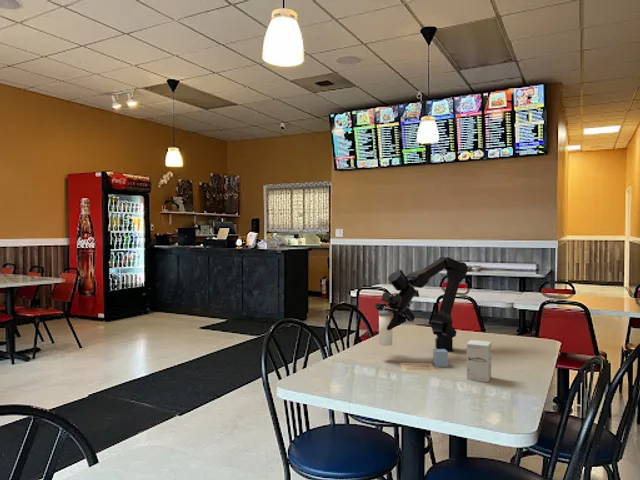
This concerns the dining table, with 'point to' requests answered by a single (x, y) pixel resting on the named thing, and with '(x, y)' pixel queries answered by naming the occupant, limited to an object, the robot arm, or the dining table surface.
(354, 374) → the dining table surface
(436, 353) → the blue block
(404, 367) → the letter card
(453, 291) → the robot arm
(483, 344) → the supplement box
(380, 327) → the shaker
